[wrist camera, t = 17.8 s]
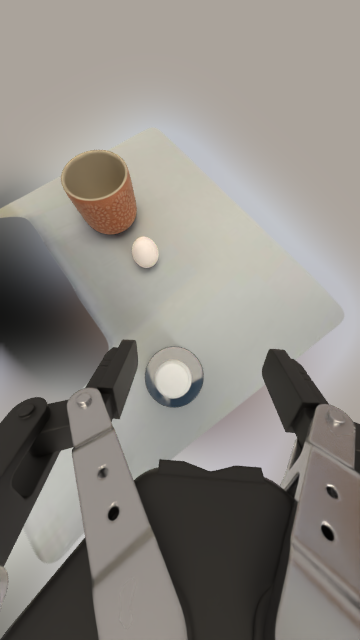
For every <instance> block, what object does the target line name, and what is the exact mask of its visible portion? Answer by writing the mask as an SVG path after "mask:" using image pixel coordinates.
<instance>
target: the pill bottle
mask: <svg viewBox="0 0 360 640" xmlns="http://www.w3.org/2000/svg"><path fill="white" fill-rule="evenodd" d="M191 382H192V376H191V372H190V370H189V368H188V367H187V365H186V364H184V363H183V362H181V361H179V360H168V361H165V362H164V363H162V364H161V365H160V366H159V367H158V369H157V371H156V373H155V385H156V388H157V390H158V391H159V392H160V393H161V394H162V395H163V396H165V397H167V398H172V399H174V398H179V397H181V396H183V395H184V394H186V392H187V391H188V390H189V388H190V386H191Z"/></svg>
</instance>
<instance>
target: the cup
mask: <svg viewBox="0 0 360 640" xmlns="http://www.w3.org/2000/svg"><path fill="white" fill-rule="evenodd" d="M168 360H179V361H181V362H183V363H184V364H186V365H187V367H188V368H189V370H190V372H191V376H192V382H191V386H190V388H189V390H188V391H187V392H186V394H184V395H183V396H181V397H179V398H174V399H172V398H167V397H165V396H163V395H162V394H161V393H160V392H159V391H158V390H157V388H156V385H155V373H156V371H157V369H158V367H159V366H160V365H161V364H162V363H164V362H165V361H168ZM145 382H146V387H147V389H148V392H149V393H150V395H151V396H152V397H153V399H154V400H156V401H157V402H158V403H160V404H162V405H164V406H167V407H181V406H184V405H187V404H188V403H190V402H191V401H193V400H194V399H195V398H196V396H197V395H198V394H199V392H200V390H201V388H202V384H203V369H202V366H201V363H200V362H199V360H198V358H197V357H196V356H195V355H194V354H193V353H192V352H190V351H189V350H187V349H185V348H182V347H167V348H164V349H162V350H160V351H159V352H157V353H156V354H155V355H154V356H153V357H152V358H151V360H150V361H149V363H148V365H147V368H146V372H145Z"/></svg>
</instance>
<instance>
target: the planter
mask: <svg viewBox="0 0 360 640" xmlns="http://www.w3.org/2000/svg"><path fill="white" fill-rule="evenodd" d="M61 183H62V186H63V188H64V190H65V192H66V194H67V195H68V197H69V198H70V200H71V201H72V203H73V204H74V205H75V207H76V208H77V210H78V211H79V212H80V214H81V215H82V217H83V218H84V220H85V221H86V222H87V223H88V224H89V225H90V226H91V227H92V228H93V229H95V230H96V231H98V232H100V233H104V234H118V233H121V232H123V231H125V230H126V229H128V228H129V227H130V226H131V225H132V223H133V222H134V220H135V217H136V211H137V207H136V200H135V196H134V192H133V187H132V182H131V178H130V174H129V171H128V168H127V165H126V163H125V162H124V160H123V159H122V158H121V157H120V156H118V155H117V154H115V153H113V152H110V151H106V150H91V151H87V152H84V153H81V154H79V155H77V156H75V157H74V158H73V159H71V160H70V161H69V162H68V163H67V164H66V166H65V167H64V169H63V172H62V175H61Z"/></svg>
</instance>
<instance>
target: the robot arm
mask: <svg viewBox="0 0 360 640" xmlns="http://www.w3.org/2000/svg"><path fill="white" fill-rule="evenodd" d="M137 367H138V354H137V345H136V341H135V340H122V341H121V343H120V345H119V347H118V348H115V347H113V348H112V349H111V350H109V351H108V352H107V353H106V354H105V356H104V358H103V360H102V361H101V363H100V365H99V366H98V368H97V369H96V371H95V373H94V374H93V376H92V378H91V379H90V381H89V383H88V384H87V386H86V387H85V388H84V389H81V390H79V391H77V392H76V393H75V394H73V395H72V396H71V397H70V399H69V400H65V401H61V402H55V403H51V404H47V402H46V400H45V399H43V398H40V397H35V398H30V399H27V400H25V401H23V402H21V403H20V404H18V405H17V406H15V407H14V408H13V409H12V410H11V411H10V412H9V413H8V415H7V416H6V417H5V418H4V419H3V421H2V422H1V423H0V610H1V607H2V604H3V602H4V599H5V596H6V593H7V589H8V573H7V571H6V569H5V568H4V565H5V563H6V561H7V559H8V557H9V555H10V553H11V551H12V549H13V546H14V545H15V542H16V541H17V539H18V536H19V534H20V532H21V530H22V528H23V526H24V524H25V522H26V520H27V518H28V516H29V514H30V512H31V510H32V508H33V506H34V504H35V502H36V500H37V498H38V496H39V494H40V492H41V490H42V488H43V486H44V484H45V482H46V480H47V478H48V475H49V473H50V471H51V469H52V467H53V465H54V463H55V461H56V459H57V457H58V455H59V453H60V451H61V450H64V449H68V448H72V447H74V448H73V449H72V458H73V464H74V470H75V476H76V482H77V489H78V495H79V501H80V507H81V513H82V520H83V526H84V532H85V538H84V539H83V540H82V542H81V543H80V544H79V545H78V547H77V548H76V549H75V550H74V551H73V553H72V554H71V555H70V556H69V557H68V558H67V560H66V561H65V562H64V563H63V564H62V566H61V567H60V568H59V569H58V570H57V571H56V573H55V574H54V575H53V576H52V577H51V579H50V580H49V581H48V582H47V583H46V585H45V586H44V587H43V588H42V589H41V591H40V592H39V593H38V594H37V595H36V596H35V598H34V599H33V600H32V601H31V603H30V604H29V605H28V606H27V607H26V608H25V610H24V611H23V612H22V613H21V614H20V616H19V617H18V618H17V619H16V620H15V621H14V623H13V624H12V625H11V626H10V628H9V629H8V630H7V631H6V633H5V634H4V635H3V637H2V638H1V639H0V640H360V424H358V423H355V422H353V421H352V419H351V418H350V417H349V416H348V415H347V414H346V413H344V412H343V411H342V410H340V409H339V408H337V407H335V406H332V405H329V404H328V402H327V401H326V400H325V398H324V397H323V395H322V394H321V392H320V391H319V390H318V388H317V387H316V385H315V384H314V382H313V381H311V378H310V377H309V375H307V372H306V371H305V370H304V368H303V367H302V366H301V365H300V364H299V363H298V362H297V361H295V360H294V359H290V357H289V356H288V354H287V353H286V351H285V350H280V349H270V350H269V351H268V353H267V356H266V359H265V362H264V365H263V368H262V376H263V379H264V382H265V384H266V386H267V389H268V391H269V394H270V396H271V398H272V401H273V403H274V406H275V408H276V410H277V413H278V415H279V417H280V420H281V422H282V424H283V427H284V429H285V432H291V433H295V434H296V436H297V439H296V440H295V443H294V446H293V450H292V454H291V456H290V460H289V463H288V466H287V470H286V473H285V476H284V478H283V480H282V482H281V484H280V486H279V485H277V484H276V483H274V482H273V481H271V480H269V479H267V478H265V477H264V476H263V473H262V469H261V468H258V467H246V466H232V467H228V468H224V469H220V470H216V471H207V470H205V469H202V468H200V467H197V466H195V465H192V464H189V463H187V462H184V461H173V460H159V467H158V468H154V469H151V470H149V471H147V472H145V473H143V474H141V475H140V476H139V477H137V478H136V479H135V480H133V478H132V475H131V472H130V470H129V467H128V464H127V461H126V459H125V456H124V453H123V451H122V448H121V445H120V442H119V440H118V437H117V434H116V432H115V429H114V427H113V426H112V423H111V422H112V419H113V418H114V419H120V416H121V413H122V411H123V408H124V405H125V402H126V399H127V396H128V393H129V391H130V388H131V385H132V382H133V379H134V376H135V373H136V370H137Z"/></svg>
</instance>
